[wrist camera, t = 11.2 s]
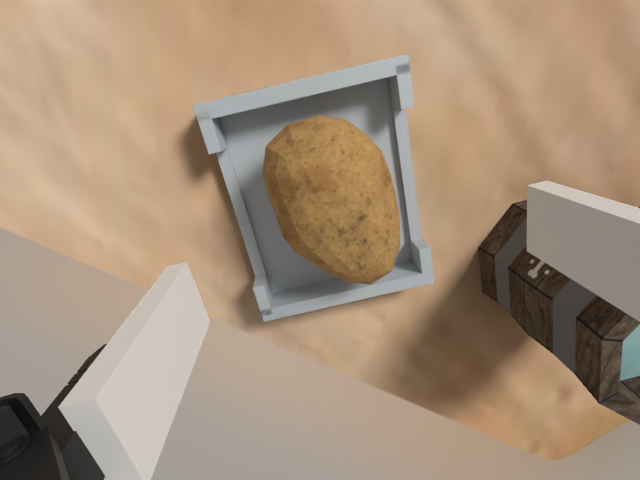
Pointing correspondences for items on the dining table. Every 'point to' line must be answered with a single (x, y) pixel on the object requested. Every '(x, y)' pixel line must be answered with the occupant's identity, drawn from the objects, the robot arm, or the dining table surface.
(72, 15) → the dining table surface
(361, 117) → the light blue shallow tray
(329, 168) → the potato
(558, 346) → the mug
